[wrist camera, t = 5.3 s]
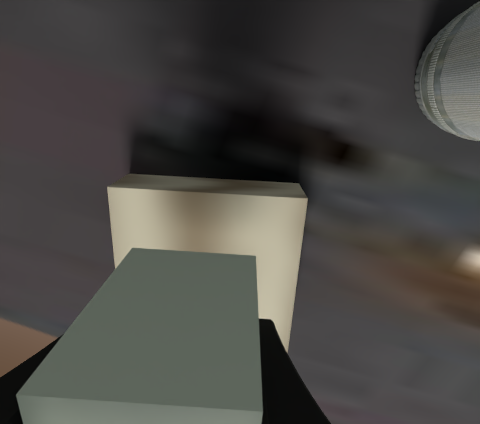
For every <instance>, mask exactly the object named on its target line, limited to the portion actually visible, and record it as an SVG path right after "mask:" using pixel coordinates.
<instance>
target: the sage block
mask: <svg viewBox="0 0 480 424" xmlns="http://www.w3.org/2000/svg"><path fill="white" fill-rule="evenodd" d="M16 397H17V401H18V405H19V409H20V413H21V417H22V421H23V424H262V415H263V402H262V380H261V358H260V336H259V313H258V291H257V269H256V256H253V255H238V254H222V253H207V252H192V251H177V250H161V249H146V248H132V249H131V250H130V251H129V252H128V254H127V255H126V256H125V258H124V259H123V260H122V261H121V263H120V264H119V265H118V266H117V268H116V269H115V270H114V271H113V273H112V274H111V275H110V276H109V278H108V279H107V280H106V282H105V283H104V284H103V285H102V287H101V288H100V289H99V290H98V292H97V293H96V294H95V295H94V297H93V298H92V299H91V301H90V302H89V303H88V304H87V306H86V307H85V308H84V309H83V311H82V312H81V313H80V314H79V316H78V317H77V318H76V319H75V321H74V322H73V323H72V325H71V326H70V327H69V328H68V330H67V331H66V332H65V333H64V335H63V336H62V337H61V338H60V340H59V341H58V342H57V344H56V345H55V346H54V347H53V349H52V350H51V351H50V352H49V354H48V355H47V356H46V357H45V359H44V360H43V361H42V362H41V364H40V365H39V366H38V368H37V369H36V370H35V371H34V373H33V374H32V375H31V376H30V378H29V379H28V380H27V381H26V383H25V384H24V385H23V387H22V388H21V389H20V390H19V392H18V393H17V394H16Z"/></svg>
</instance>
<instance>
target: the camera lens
mask: <svg viewBox="0 0 480 424" xmlns="http://www.w3.org/2000/svg"><path fill="white" fill-rule="evenodd" d="M414 87H415V95H416V97H417V102H418V103H419V108H420V109H421V110H422V112H423V114H424V115H426V117H427V119H429V120H431V122H432V123H434V124H436V125H437V126H438V127H440V128H441V129H443V130H445V131H447V132H449V133H452V134H455V135H457V136H459V137H462V138H465V139H470V140H475V141H480V1H479V2H478V3H476V4H474V5H473V6H471V7H470V8H469V9H467V10H466V11H464V12H462V13H461V14H459V15H458V16H457V17H455V18H454V19H453V20H452V21H450V22H449V23H448V24H447V25H446V26H445V27H444V28H443V29H441V30H440V31H439V32H438V34H437V35H436V36H434V37H433V38H432V40H431V42H430V43H429V44H428V45H427V47H426V49H425V51H424V52H423V54H422V57H421V59H420V60H419V63H418V67H417V69H416V76H415V85H414Z"/></svg>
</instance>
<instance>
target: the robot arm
mask: <svg viewBox="0 0 480 424" xmlns="http://www.w3.org/2000/svg"><path fill="white" fill-rule="evenodd" d="M63 335H64V334H63ZM63 335H62V336H63ZM62 336H60V337H59V338H57V339H56V340H55V341H53V342H52V343H51V344H49V345H48V346H46V347H45V348H44V349H42V350H41V351H39V352H38V353H36V354H35V355H33V356H32V357H31V358H29V359H27V360H26V361H24V362H23V363H21V364H20V365H18V366H17V367H16V368H14V369H13V370H11V371H10V372H8V373H7V374H5V375H4V376H2V377H0V424H23V421H22V417H21V413H20V409H19V405H18V401H17V397H16V394H17V393H18V392H19V390H20V389H21V388H22V387H23V385H24V384H25V383H26V381H27V380H28V379H29V378H30V376H31V375H32V374H33V373H34V371H35V370H36V369H37V368H38V366H39V365H40V364H41V362H42V361H43V360H44V359H45V357H46V356H47V355H48V354H49V352H50V351H51V350H52V349H53V347H54V346H55V345H56V344H57V342H58V341H59V340H60V338H61V337H62ZM259 336H260V358H261V380H262V402H263V415H262V424H331V423H330V422H329V420H328V419H327V417H326V416H325V415H324V413H323V412H322V410H321V409H320V407H319V406H318V404H317V403H316V401H315V400H314V398H313V397H312V395H311V394H310V392H309V391H308V389H307V387H306V386H305V384H304V382H303V381H302V379H301V377H300V376H299V374H298V372H297V370H296V369H295V367H294V365H293V363H292V361H291V359H290V358H289V356H288V354H287V352H286V350H285V348H284V346H283V344H282V341H281V339H280V337H279V335H278V332H277V330H276V327H275V324H274V322H273V321H272V320H271V319H260V318H259Z"/></svg>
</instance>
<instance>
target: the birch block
mask: <svg viewBox="0 0 480 424" xmlns="http://www.w3.org/2000/svg"><path fill="white" fill-rule="evenodd" d="M107 189H108V199H109V210H110V220H111V230H112V241H113V251H114V261H115V269H116V268H117V266H118V265H119V264H120V263H121V261H122V260H123V259H124V258H125V256H126V255H127V254H128V252H129V251H130V250H131V249H132V248H146V249H161V250H177V251H192V252H207V253H222V254H238V255H253V256H256V269H257V291H258V313H259V318H260V319H271V320H272V321H273V322H274V324H275V327H276V330H277V332H278V335H279V337H280V339H281V341H282V344H283V346H284V348H285V350H286V352H288V345H289V337H290V329H291V322H292V314H293V307H294V299H295V291H296V284H297V276H298V269H299V261H300V253H301V246H302V238H303V231H304V223H305V215H306V208H307V200H308V198H307V197H306V195H305V193H304V192H303V190H302V188H301V186H300V185H299V183H284V182H266V181H248V180H231V179H213V178H196V177H178V176H161V175H143V174H128V175H126V176H125V177H123V178H121V179H120V180H118V181H116V182H115V183H113V184H112V185H110V186H108V187H107Z"/></svg>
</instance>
